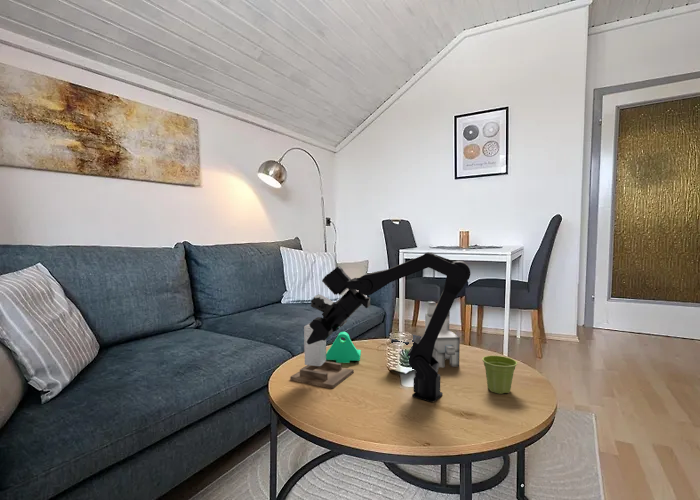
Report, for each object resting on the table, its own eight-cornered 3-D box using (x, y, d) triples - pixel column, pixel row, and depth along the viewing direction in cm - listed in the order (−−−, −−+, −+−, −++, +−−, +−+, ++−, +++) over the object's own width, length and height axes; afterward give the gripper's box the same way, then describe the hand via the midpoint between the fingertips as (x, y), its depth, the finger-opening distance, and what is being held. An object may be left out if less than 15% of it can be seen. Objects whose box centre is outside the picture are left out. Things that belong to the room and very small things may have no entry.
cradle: (353, 372, 125) (353, 363, 125) (333, 388, 112) (333, 378, 112) (313, 365, 131) (313, 356, 131) (290, 379, 119) (290, 370, 119)
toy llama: (440, 370, 127) (440, 310, 126) (424, 353, 145) (425, 300, 144) (462, 369, 128) (463, 309, 127) (444, 352, 145) (445, 300, 144)
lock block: (326, 360, 118) (325, 323, 117) (320, 366, 113) (320, 326, 112) (310, 359, 119) (310, 322, 119) (304, 364, 114) (304, 325, 114)
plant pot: (485, 381, 118) (486, 353, 117) (518, 387, 113) (519, 358, 113) (478, 392, 110) (479, 362, 109) (514, 399, 105) (514, 368, 105)
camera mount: (361, 356, 141) (361, 328, 141) (359, 363, 134) (359, 334, 133) (328, 355, 142) (328, 328, 142) (325, 362, 135) (325, 333, 134)
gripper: (337, 282, 123) (305, 314, 126) (315, 291, 105) (279, 328, 108) (361, 307, 121) (328, 339, 125) (343, 321, 103) (305, 358, 107)
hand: (311, 340), depth 116 cm, fingers closed on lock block, 5 cm apart
